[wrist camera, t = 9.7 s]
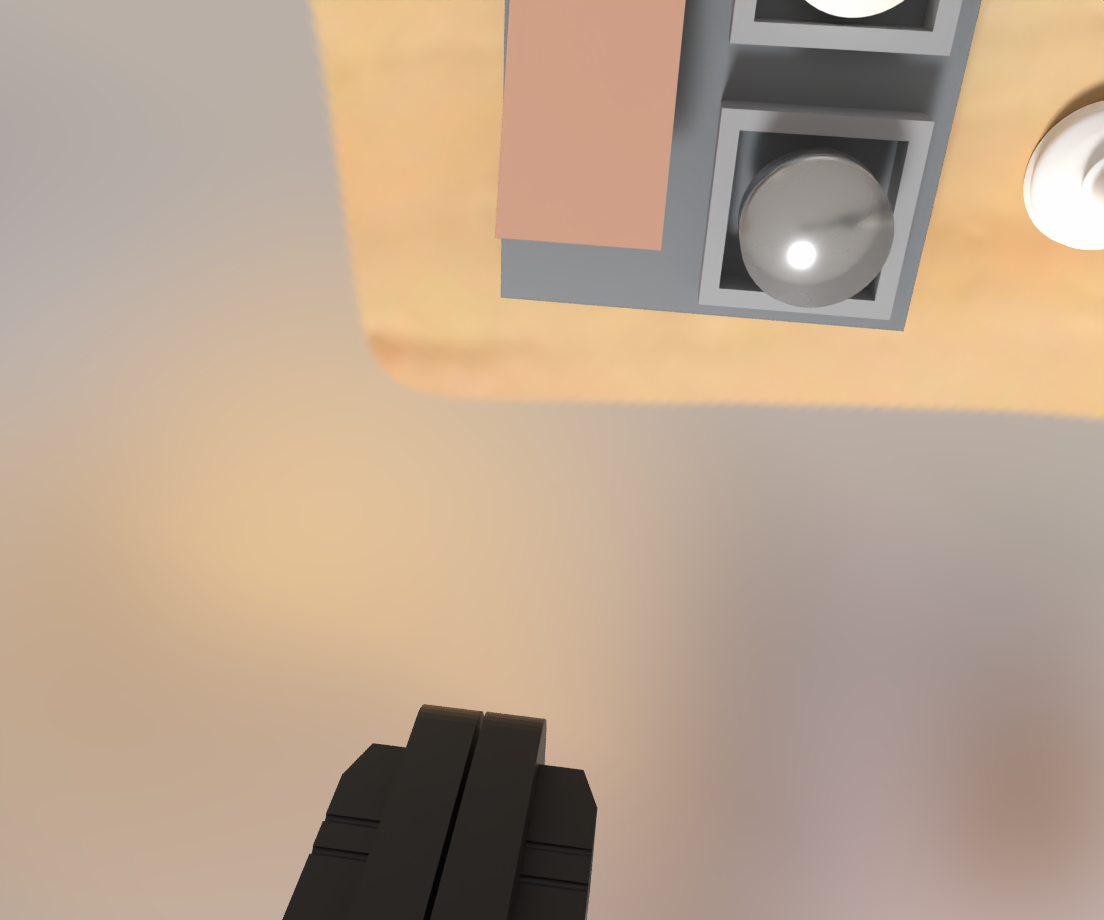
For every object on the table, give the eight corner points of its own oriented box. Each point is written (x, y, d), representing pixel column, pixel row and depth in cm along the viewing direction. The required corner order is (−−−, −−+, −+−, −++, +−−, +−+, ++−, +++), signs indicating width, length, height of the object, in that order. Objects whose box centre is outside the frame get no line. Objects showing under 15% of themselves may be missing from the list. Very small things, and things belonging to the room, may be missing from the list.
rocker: (696, -107, 28) (697, -124, 26) (661, 250, 30) (661, 250, 29) (523, -114, 28) (516, -132, 27) (501, 237, 30) (494, 237, 29)
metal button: (896, 151, 29) (909, 166, 27) (867, 291, 31) (877, 313, 29) (748, 140, 29) (751, 155, 28) (729, 280, 31) (731, 301, 30)
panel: (1006, -228, 28) (1057, -251, 24) (888, 300, 36) (911, 348, 32) (525, -243, 29) (498, -268, 25) (514, 270, 37) (493, 312, 33)
